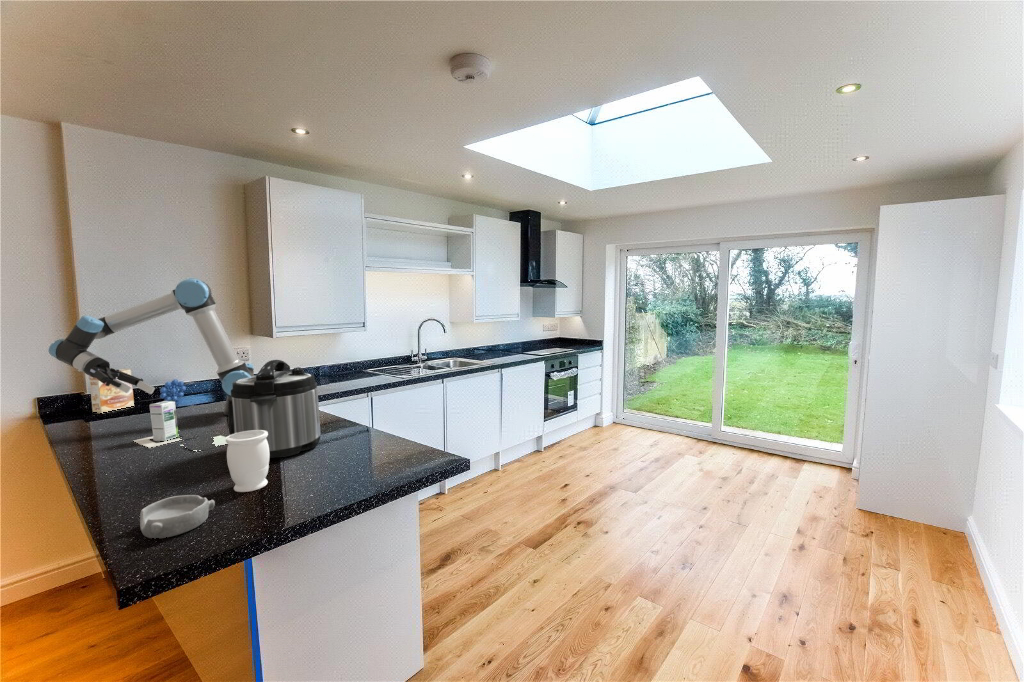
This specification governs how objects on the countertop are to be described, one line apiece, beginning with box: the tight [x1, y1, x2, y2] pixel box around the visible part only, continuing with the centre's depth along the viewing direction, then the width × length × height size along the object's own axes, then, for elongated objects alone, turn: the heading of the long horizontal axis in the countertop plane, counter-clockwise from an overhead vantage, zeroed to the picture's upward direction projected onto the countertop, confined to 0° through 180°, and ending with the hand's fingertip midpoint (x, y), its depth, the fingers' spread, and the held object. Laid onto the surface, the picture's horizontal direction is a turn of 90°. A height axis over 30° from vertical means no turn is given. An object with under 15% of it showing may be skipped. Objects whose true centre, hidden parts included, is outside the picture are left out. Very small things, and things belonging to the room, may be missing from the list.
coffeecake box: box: [88, 368, 135, 414], centre depth 233 cm, size 15×7×20 cm, turn 161°
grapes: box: [159, 378, 187, 403], centre depth 250 cm, size 12×7×12 cm, turn 133°
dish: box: [139, 494, 216, 540], centre depth 110 cm, size 14×14×5 cm
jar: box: [225, 430, 270, 493], centre depth 131 cm, size 11×10×15 cm
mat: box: [179, 434, 228, 453], centre depth 172 cm, size 14×14×1 cm
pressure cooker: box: [227, 359, 321, 459], centre depth 163 cm, size 30×28×32 cm
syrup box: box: [149, 400, 180, 442], centre depth 179 cm, size 6×6×14 cm
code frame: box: [132, 435, 182, 449], centre depth 180 cm, size 16×16×1 cm
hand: (141, 390), depth 183 cm, fingers open, 13 cm apart
